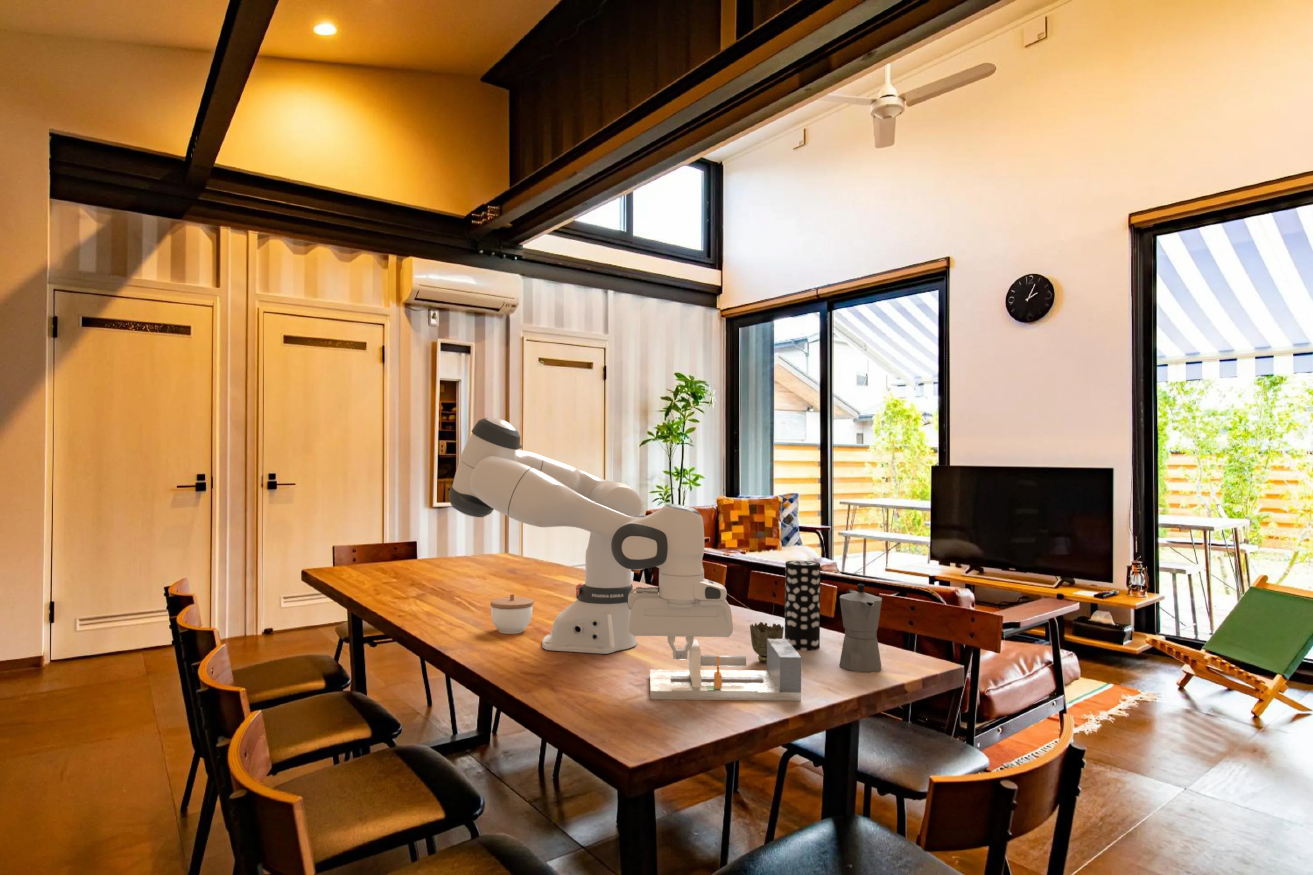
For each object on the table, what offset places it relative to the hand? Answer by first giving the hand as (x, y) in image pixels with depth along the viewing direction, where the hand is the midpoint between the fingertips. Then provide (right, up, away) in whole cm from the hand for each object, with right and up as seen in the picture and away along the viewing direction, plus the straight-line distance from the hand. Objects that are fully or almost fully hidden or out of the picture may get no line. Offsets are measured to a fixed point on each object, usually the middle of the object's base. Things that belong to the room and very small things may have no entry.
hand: (680, 658), depth 142 cm
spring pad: (+7, -3, -1) cm, 8 cm away
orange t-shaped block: (+7, -3, -6) cm, 10 cm away
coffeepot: (+40, -7, +18) cm, 44 cm away
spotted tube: (+31, -7, +33) cm, 46 cm away
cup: (+20, -7, +19) cm, 28 cm away
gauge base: (+8, -6, 0) cm, 10 cm away
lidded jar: (-42, -7, +44) cm, 61 cm away
